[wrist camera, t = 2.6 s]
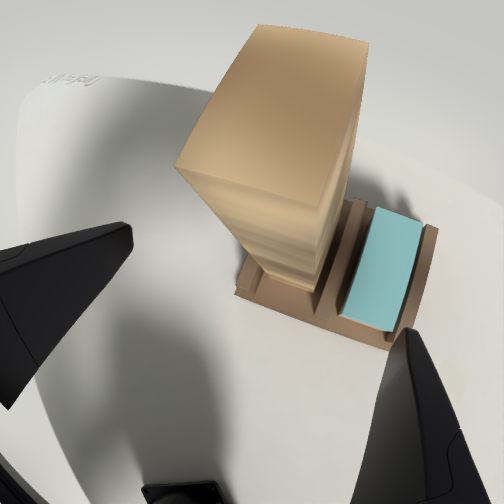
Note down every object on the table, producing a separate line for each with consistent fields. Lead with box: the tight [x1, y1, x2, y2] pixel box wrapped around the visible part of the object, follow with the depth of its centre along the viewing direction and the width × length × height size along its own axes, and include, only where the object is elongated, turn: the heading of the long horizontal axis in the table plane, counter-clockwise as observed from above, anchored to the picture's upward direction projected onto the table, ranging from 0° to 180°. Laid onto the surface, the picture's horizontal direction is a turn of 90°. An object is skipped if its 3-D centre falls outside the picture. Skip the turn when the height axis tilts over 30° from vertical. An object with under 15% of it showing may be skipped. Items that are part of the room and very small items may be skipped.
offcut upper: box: [340, 206, 423, 332], centre depth 16 cm, size 6×3×2 cm, turn 158°
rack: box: [234, 198, 438, 351], centre depth 18 cm, size 8×11×3 cm
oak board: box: [174, 24, 369, 293], centre depth 12 cm, size 4×3×14 cm, turn 158°
